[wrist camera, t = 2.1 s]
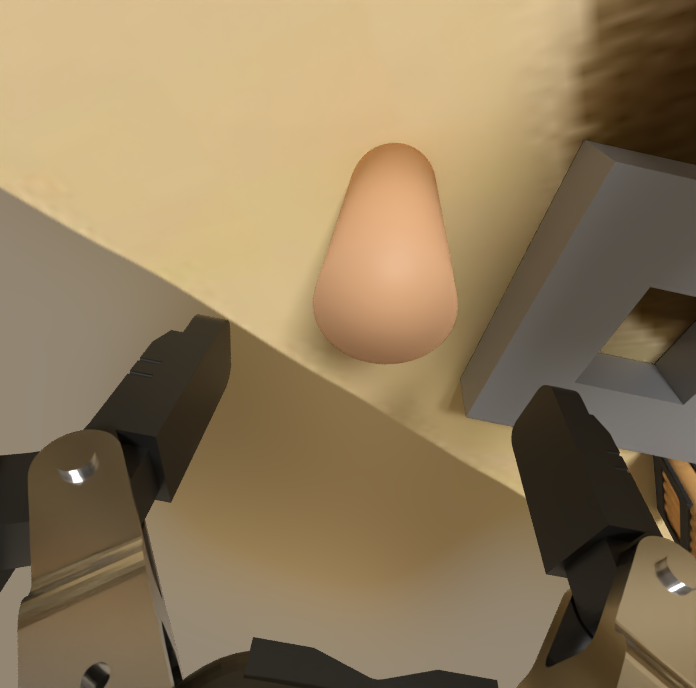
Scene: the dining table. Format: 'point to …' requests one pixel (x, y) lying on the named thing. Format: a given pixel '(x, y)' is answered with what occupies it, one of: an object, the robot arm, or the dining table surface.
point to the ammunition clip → (677, 499)
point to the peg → (388, 262)
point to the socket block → (599, 304)
